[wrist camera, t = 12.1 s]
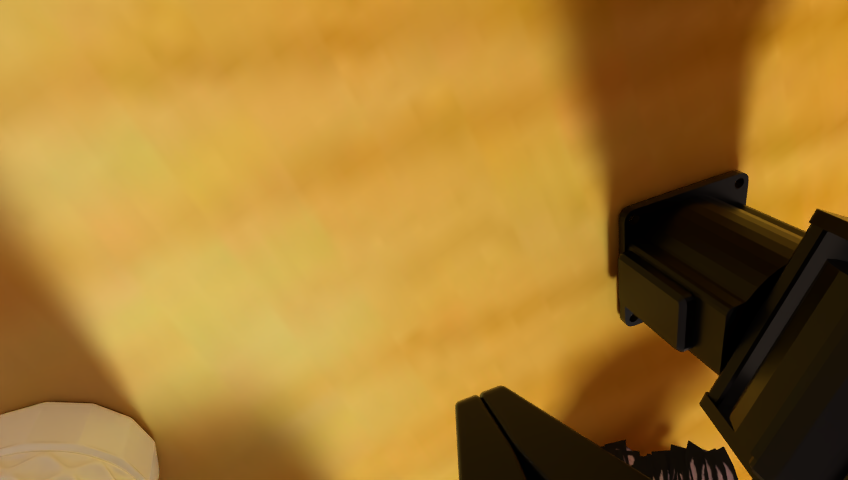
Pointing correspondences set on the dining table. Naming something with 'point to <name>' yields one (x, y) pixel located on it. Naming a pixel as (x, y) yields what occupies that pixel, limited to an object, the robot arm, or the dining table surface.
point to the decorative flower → (677, 462)
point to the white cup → (74, 444)
